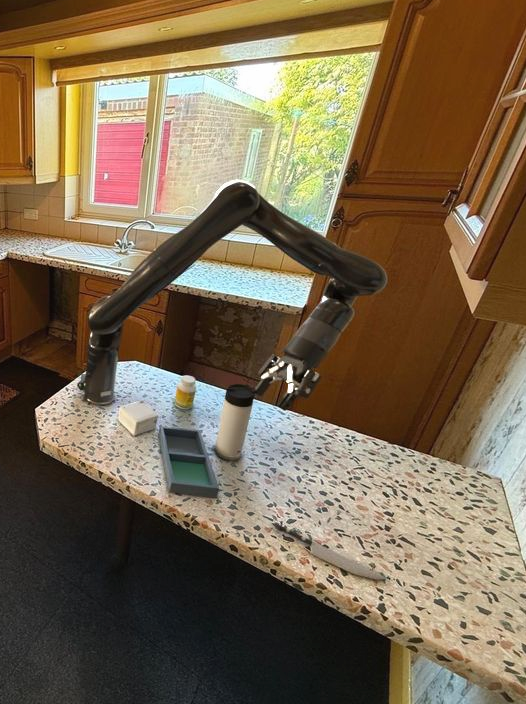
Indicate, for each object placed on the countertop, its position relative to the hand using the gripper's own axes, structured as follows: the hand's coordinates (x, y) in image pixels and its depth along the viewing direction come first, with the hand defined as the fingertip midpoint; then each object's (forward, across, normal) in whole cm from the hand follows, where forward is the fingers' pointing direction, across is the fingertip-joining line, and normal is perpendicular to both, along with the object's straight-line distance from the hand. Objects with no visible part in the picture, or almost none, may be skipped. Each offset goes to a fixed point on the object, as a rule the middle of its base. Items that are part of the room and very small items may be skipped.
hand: (268, 401), depth 93 cm
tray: (+24, -6, -4) cm, 25 cm away
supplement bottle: (+14, -29, +1) cm, 33 cm away
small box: (+25, -21, -12) cm, 35 cm away
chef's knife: (+20, +20, +15) cm, 32 cm away
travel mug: (+17, -9, +7) cm, 20 cm away
